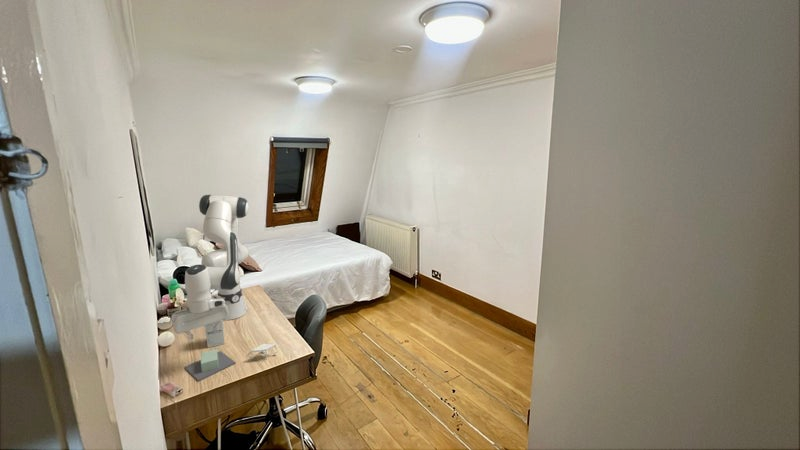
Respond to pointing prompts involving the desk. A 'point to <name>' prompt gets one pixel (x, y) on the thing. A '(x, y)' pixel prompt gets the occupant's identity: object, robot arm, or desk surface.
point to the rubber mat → (199, 375)
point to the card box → (209, 360)
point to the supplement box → (214, 334)
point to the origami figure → (263, 349)
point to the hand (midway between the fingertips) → (203, 334)
